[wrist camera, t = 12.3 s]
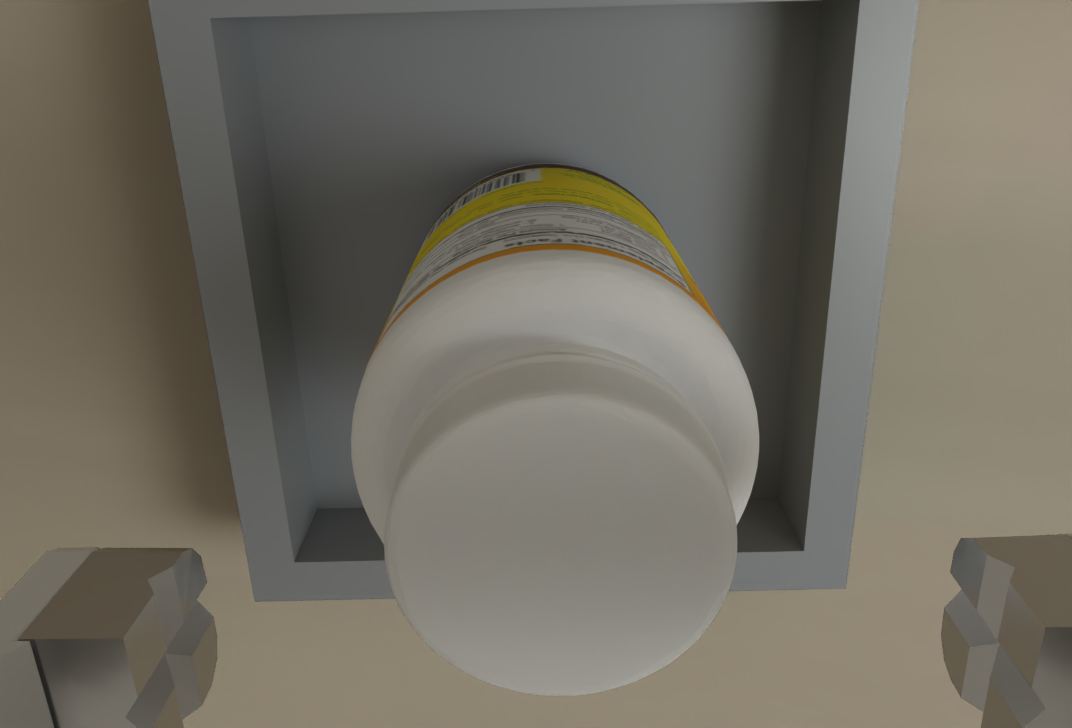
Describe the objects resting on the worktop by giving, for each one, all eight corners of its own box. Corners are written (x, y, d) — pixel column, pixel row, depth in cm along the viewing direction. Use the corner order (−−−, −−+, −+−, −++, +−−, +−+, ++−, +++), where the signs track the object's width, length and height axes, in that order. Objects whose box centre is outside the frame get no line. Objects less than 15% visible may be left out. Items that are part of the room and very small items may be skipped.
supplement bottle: (618, 434, 21) (688, 804, 11) (386, 357, 20) (252, 682, 10) (719, 209, 19) (908, 427, 9) (466, 114, 18) (390, 244, 9)
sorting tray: (866, -59, 18) (927, -69, 15) (807, 515, 22) (845, 588, 20) (202, -39, 18) (140, -45, 15) (289, 527, 23) (255, 601, 20)
